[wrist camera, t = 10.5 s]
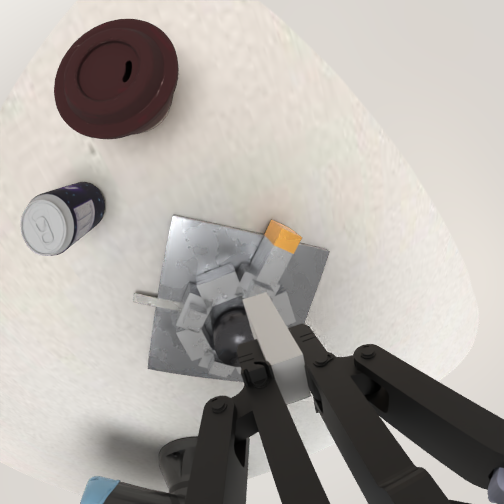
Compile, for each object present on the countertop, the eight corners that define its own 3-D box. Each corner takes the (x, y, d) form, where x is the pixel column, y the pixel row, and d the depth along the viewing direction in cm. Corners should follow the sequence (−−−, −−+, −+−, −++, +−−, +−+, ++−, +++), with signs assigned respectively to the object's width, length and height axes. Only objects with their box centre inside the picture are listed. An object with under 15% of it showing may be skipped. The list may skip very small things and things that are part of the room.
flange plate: (277, 380, 46) (292, 415, 38) (128, 360, 40) (120, 398, 32) (330, 236, 40) (360, 255, 32) (151, 194, 34) (140, 205, 26)
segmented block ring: (164, 341, 39) (162, 362, 34) (227, 199, 35) (232, 205, 30) (257, 369, 43) (264, 390, 38) (327, 245, 39) (343, 257, 34)
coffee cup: (84, 113, 29) (22, 92, 15) (139, 49, 28) (111, -9, 14) (144, 161, 33) (110, 165, 19) (201, 95, 32) (207, 55, 17)
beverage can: (97, 173, 32) (55, 183, 21) (113, 217, 34) (80, 246, 23) (59, 192, 31) (8, 211, 20) (75, 234, 33) (32, 269, 22)
